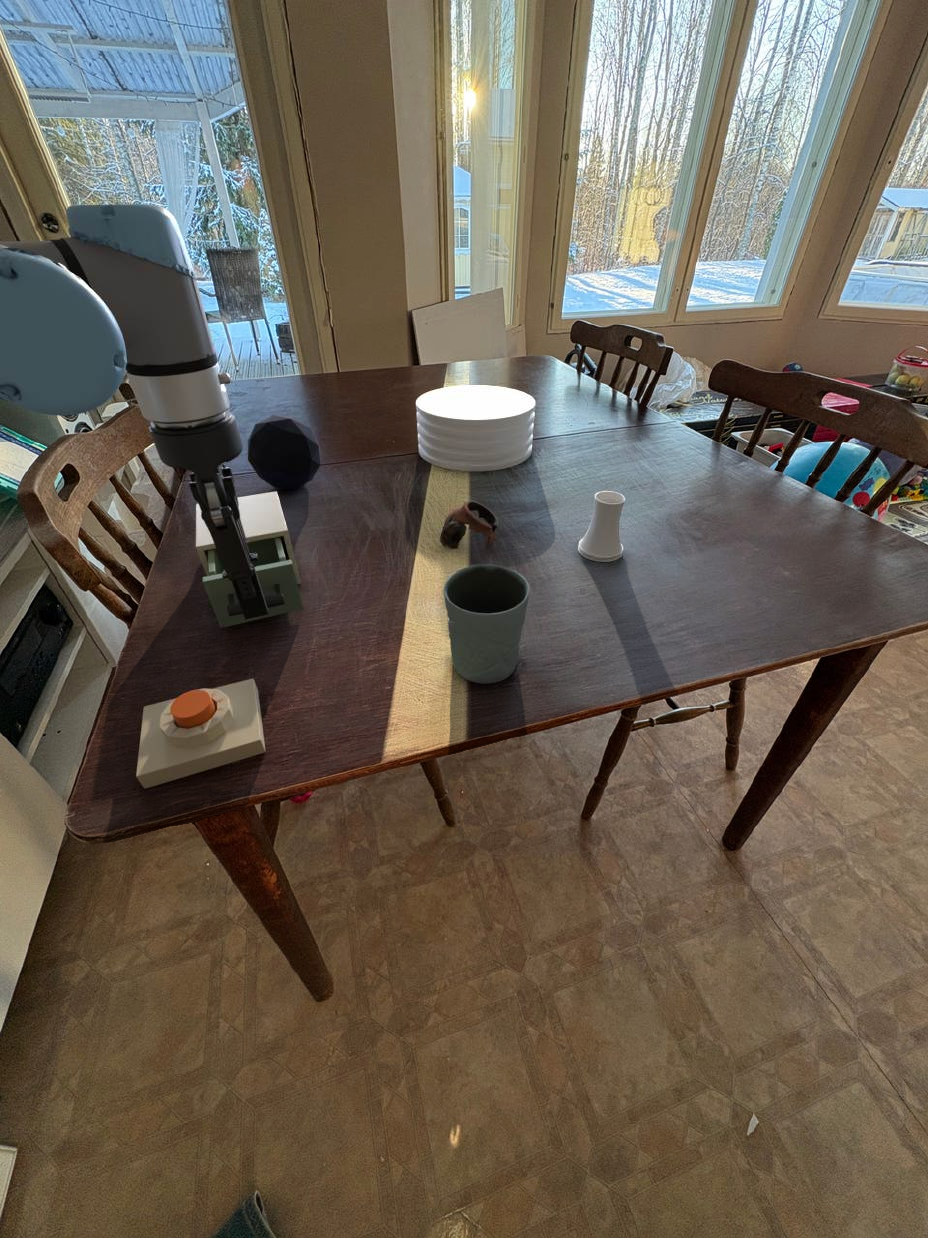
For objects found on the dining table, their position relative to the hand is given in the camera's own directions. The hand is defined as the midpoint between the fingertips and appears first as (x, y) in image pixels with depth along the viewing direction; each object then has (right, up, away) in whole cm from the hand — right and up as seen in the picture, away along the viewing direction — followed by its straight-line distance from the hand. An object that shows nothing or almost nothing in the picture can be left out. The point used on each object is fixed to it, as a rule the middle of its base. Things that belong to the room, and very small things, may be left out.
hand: (256, 613), depth 63 cm
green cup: (+28, -6, +5) cm, 29 cm away
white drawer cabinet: (-9, +8, +22) cm, 25 cm away
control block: (-4, -14, -5) cm, 15 cm away
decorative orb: (-12, +28, +48) cm, 57 cm away
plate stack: (+28, +41, +64) cm, 82 cm away
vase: (+49, +11, +26) cm, 57 cm away
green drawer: (-5, +2, +14) cm, 15 cm away
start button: (-4, -11, -7) cm, 14 cm away
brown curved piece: (+26, +12, +28) cm, 40 cm away
